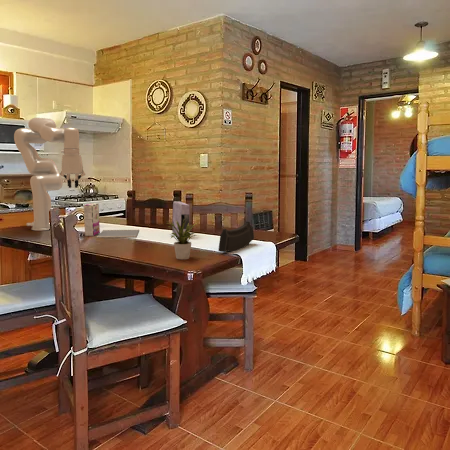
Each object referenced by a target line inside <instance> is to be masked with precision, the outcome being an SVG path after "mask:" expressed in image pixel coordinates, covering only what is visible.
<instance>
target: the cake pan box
mask: <svg viewBox="0 0 450 450" xmlns="http://www.w3.org/2000/svg"><path fill="white" fill-rule="evenodd" d="M172 203H173V204H172V224H173V225H174V226H175V227H176V229H177V230H178V232H179V229H178V226H177V223H176V222H177V221H178V222H179V225H180V226H181V229H182V226H183V224H184V227H183V232H185V231H186V228H187V225H188V223H189V224H190V204H187V203H185V202H182V201H173V202H172ZM184 219H185V220H184ZM176 220H177V221H176ZM172 228H173V229H174V231H175V232H176V234H177V236H178V237H179V235H178V233H177V231H176V229H175V228H174V227H173V226H172ZM172 228H171V229H172ZM173 229H172V230H171V231H172V233H175V232H174V231H173ZM188 239H189V237H188Z"/></svg>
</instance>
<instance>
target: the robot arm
mask: <svg viewBox="0 0 450 450" xmlns="http://www.w3.org/2000/svg"><path fill="white" fill-rule="evenodd" d="M13 139H14V144H15V147H16V148H17V150H18V152H19V154H20V155H21V156H22V159H23V161H24V165H25V166H26V168H27V171H28V172H29V174H31V175H32V176H31V177H30V179H29V183H30V188H31V192H32V193H31V194H32V203H33V204H32V205H33V206H32V207H33V221H32V222H26V226H27V227H31V231H36V232H37V231H39V232H40V231H42V232H44V231H50V230H49V228H50V224H49V210H50V208H51V209H52V199H51V198H52V197H51V195H50V194H49V193H48V191H50V192H51V191H58V190H60V189H62V187H63V179H62V178H64V179H66V180H67V187H68V189H71V188H72V180H71V175H74V176H75V179H74V188H75V189H78V187H79V185H80V184H79V180H80V179H81V178H83V177H84V176H86V173H85V171H84V167H83V160H82V156H81V155H82V154H81V155H80V133H79V129H78V128H77V127H75V128H74V127H66V128H65V127H64V128H62V127H57V123H56V122H55V120H53V119H51V118H45V117H33V118H31V119H30V120H29V121H28V128H27V127H21V128H18V129H16V130H15V131H14V134H13ZM47 142H50V143H57V144H60V143H61V144H63V149H61V150H60V152H61V153H63V154H62V157H61V170H60V171H59V169H58V166H57V164H56V162H55V161H54V160H53V159H51V158H49V157H47V158H45V157H44V158H43V157H42V158H41V157H40V156H39V153H38V151H37V150H36V148H35V147H34V146H33V145H31V144H39V145H40V144H41V145H42V144H45V143H47Z"/></svg>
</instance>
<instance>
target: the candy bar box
mask: <svg viewBox="0 0 450 450" xmlns="http://www.w3.org/2000/svg"><path fill="white" fill-rule="evenodd" d="M99 207H100V205H99V203H97V202H94V203H87V204H83V218H84V220H83V221H84V237H95V236H97V235H99V234H100V233H101V231H100V230H101V229H100V227H101V226H100V209H99ZM98 233H99V234H98ZM96 234H97V235H96Z"/></svg>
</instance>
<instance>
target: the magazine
mask: <svg viewBox="0 0 450 450" xmlns="http://www.w3.org/2000/svg"><path fill="white" fill-rule="evenodd" d="M254 239H255V235H254V229H253V226H252V225H251V221H245V223H244V224H243V225H241V226H239V227H237V228H234V229H230V230H228V229H226V228H224V229H222V232H221V233H220V235H219V245H218V252H220V253H226V252H234V251H238V250H241V249H243V248H245V247H246V246H249V245H250V243H252V241H253V240H254Z"/></svg>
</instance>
